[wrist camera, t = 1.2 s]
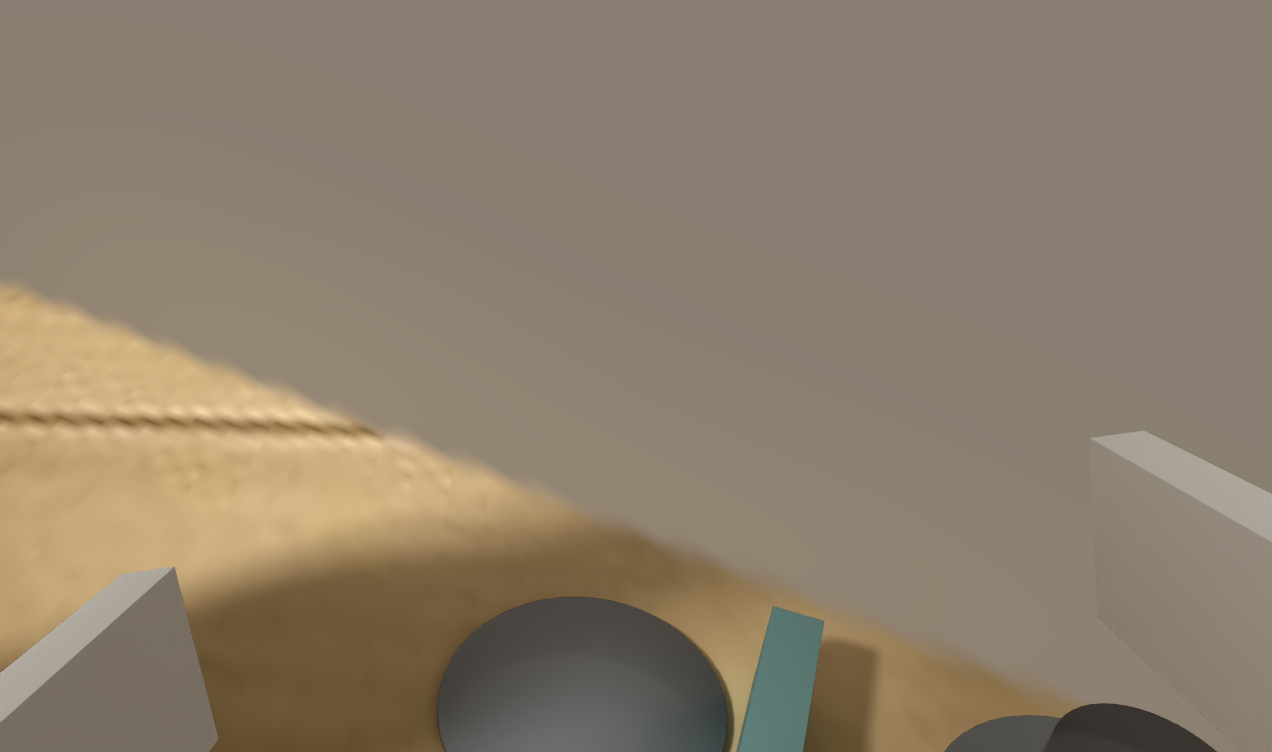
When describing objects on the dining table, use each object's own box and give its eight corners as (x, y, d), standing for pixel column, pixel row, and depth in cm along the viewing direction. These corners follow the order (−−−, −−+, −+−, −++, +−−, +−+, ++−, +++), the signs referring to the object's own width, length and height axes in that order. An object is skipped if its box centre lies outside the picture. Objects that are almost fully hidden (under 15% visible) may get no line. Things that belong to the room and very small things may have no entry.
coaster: (383, 778, 34) (383, 770, 33) (505, 575, 43) (506, 568, 43) (688, 884, 32) (690, 877, 32) (748, 648, 41) (750, 641, 41)
